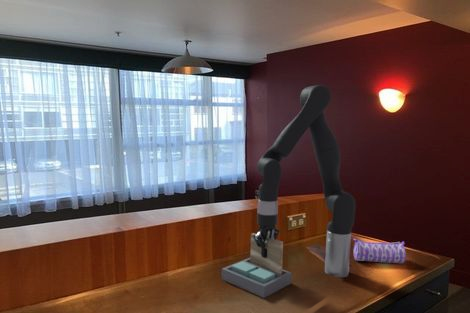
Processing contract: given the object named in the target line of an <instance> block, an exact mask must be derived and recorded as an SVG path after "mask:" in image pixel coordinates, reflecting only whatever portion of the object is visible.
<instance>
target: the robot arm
mask: <svg viewBox="0 0 470 313" xmlns="http://www.w3.org/2000/svg"><path fill="white" fill-rule="evenodd" d="M299 100H300V102H299V103H300V106H301V108H302V109H301V110H300V111H299V113H298V114H297V115H296V116H295V117H294V118H293V119H292V120H291V121H290V122H289V123H288V124H287V126H285V127H284V129H282V131H281V133H280V134H279V135H278V137H277V138H276V140H275V141H274V142H273V144H272V145H271V146H270V148H268V149H267V151H266V152H265V153H264V154H263V155H262V156H261V157H260V159H259V161H258V162H257V165H256V169H257V173H258V174H260V175H261V176H262V183H261V184H260V185H259V186H258V201H257V207H256V208H257V212H256V213H257V214H256V216H257V217H256V223H257V225H258V229H257V233H255V234H256V235H255V234H254V236H253V237H254V239H255V242H256V244H257V246H258V247H261V256H262V257H263V258H267V247H268V242H269V238H272V239H275V240H278V239H277V238H278V236H279V234H280V229H279V228H276V226H277V225H278V215H279V213H278V209H279V204H278V203H279V202H278V194H279V191H278V190H279V186H280V182H281V177H282V166H281V163H280V162H281V161H282V160H283V159H285V158H288V157H289V155H290V154H291V153H292V151H293V150H294V149H295V148H296V145H297V144H298V142H299V141H300V140H301V138H302V137H303V136H304V134H305V132H306V131H307V130H308V129H309V134H310V137H311V143H312V147H313V151H314V155H315V160H316V163H317V167H318V171H319V173H320V174H319V175H320V178H321V182H322V188H323V196H324V202H325V206H326V207H327V209H328V210H329V211H331V212H332V218H331V221H329V222H327V225H326V242H325V244H326V245H325V249H326V257H325V263H324V272H325V274H327V275H330V276H332V277H336V278H341V279H343V278H346V277H348V276H349V273H350V266H349V264H350V261H351V260H350V257H351V243H352V242H351V240H352V228H353V227H354V224H355V217H356V199H355V198H354V196H353V195H352V194H350V193H348V192H346V191H344V189H343V187H342V183H341V178H340V168H341V163H342V162H341V161H342V158H341V157H342V156H341V151H340V148H339V147H340V146H339V143H338V139H337V138H336V135H335V134H334V132H333V131H332V129H331V128H330V126H329V124H328V121H327V120H326V117H325V113H324V110H325V109H326V108H327V107H328V106H329V105H330V102H331V101H332V93H331V91H330V89H329V88H328V86H326V85H323V84H320V85H319V84H316V85H311V86H307V87H304V89H302V91H301V92H300V97H299ZM265 239H266V240H265ZM264 243H265V245H264Z"/></svg>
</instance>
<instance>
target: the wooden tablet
mask: <svg viewBox="0 0 470 313" xmlns="http://www.w3.org/2000/svg"><path fill="white" fill-rule="evenodd" d="M312 245H313V244H312ZM312 245H308V246H309V247H307V246H306V247H307V249H308V250H309V251H308V250H307V249H306V250H307V251H308V252H309V253H311V254H312V255H314V256H315V257H317V259H318V260H320V261H322V263H324V264H325V257H326V247H324V246H323V245H320V244H314V245H313V246H312ZM350 266H351V264H350V263H349V267H350Z"/></svg>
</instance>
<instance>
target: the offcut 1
mask: <svg viewBox="0 0 470 313" xmlns="http://www.w3.org/2000/svg"><path fill="white" fill-rule="evenodd" d="M241 261H242V260H241ZM239 262H240V261H239ZM236 263H237V262H236ZM234 264H235V263H234ZM231 265H232V264H231ZM254 270H256V266H253V265H251V264H248V263H245V262H243V261H242V262H240V263H237V264H235V265H232V269H231V271H233V272H235V273H238V274H240V275H243V276H245V277H247V278H249V273H250V272H252V271H254Z"/></svg>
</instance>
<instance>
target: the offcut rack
mask: <svg viewBox="0 0 470 313" xmlns="http://www.w3.org/2000/svg"><path fill="white" fill-rule="evenodd" d="M242 261H243V262H245V263H248V264H251V265H253V266H256V269H259V268H261V269H264V270H266V271H269V272H272V273H274V274H275V279H273V280H271V281H269V282H267V283H265V284H262V283H260V282H257V281H255V280H252V279H250V278H247V277H245V276H243V275H240V274H238V273H235V272H233V271H231V269H232V265H235V264H237V263H240V262H242ZM292 274H293V273H292V272H290V271H288V270H285V269H283V268H282V275H281V274H278V273H276V272H273V271H270V270H268V269H265V268H262V267H260V266H257V265H254V264H252V263H250V257H248V258H245V259H243V260H241V261H237V262H235V263H233V264H230V265H228V266H225V267H223V268H221V280H222V281H225V282H227V283H228V284H229V283H230V284H232V286H233V285H234V286H236V287H238V288H240V289H242V290H245V291H247V292H249V293H252V294H254V295H256V296H258V297H261V298H262V299H264V298H267V297H268V296H270V295H272V294H274V293H276V292H277V291H280V290H281V289H283V288H285V287H287V286H290V285H291V284H292Z"/></svg>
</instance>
